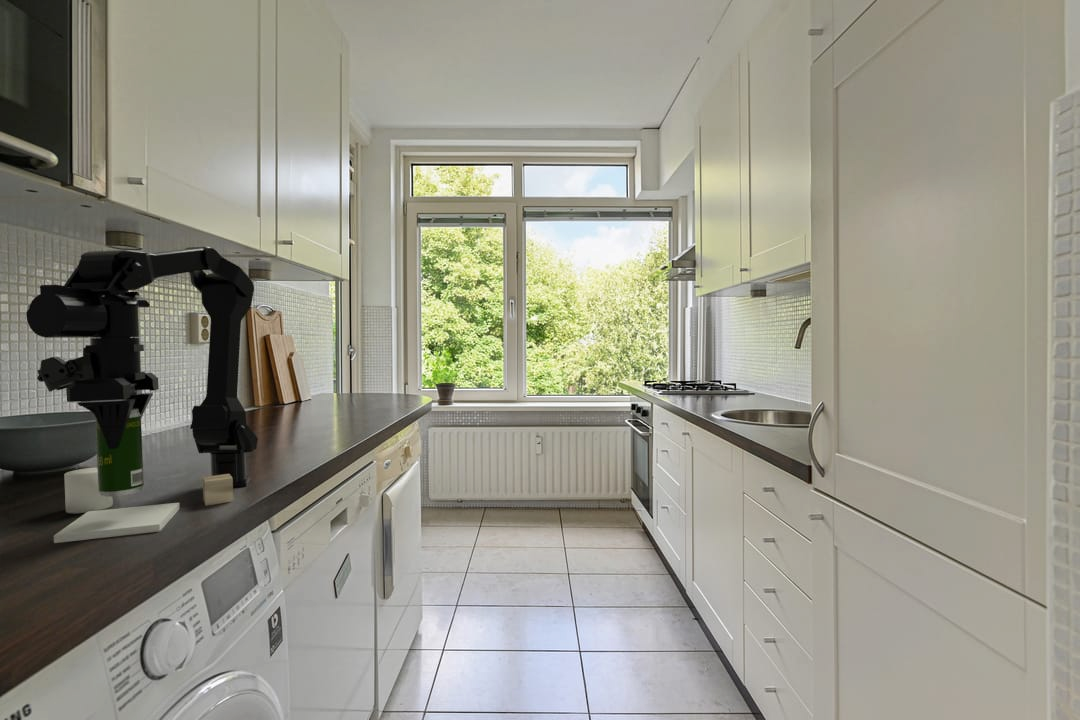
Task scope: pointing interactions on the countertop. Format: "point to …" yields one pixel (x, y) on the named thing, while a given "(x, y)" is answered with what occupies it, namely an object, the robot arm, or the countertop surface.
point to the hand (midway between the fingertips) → (120, 445)
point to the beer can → (121, 460)
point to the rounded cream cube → (84, 492)
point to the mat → (118, 522)
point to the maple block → (217, 489)
